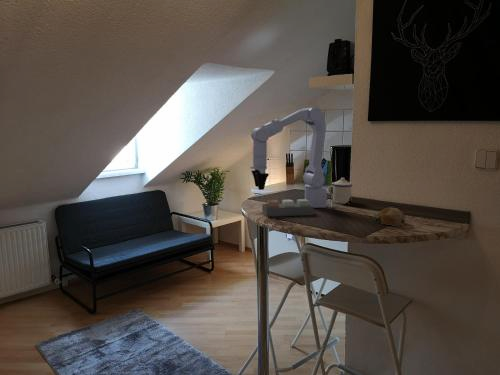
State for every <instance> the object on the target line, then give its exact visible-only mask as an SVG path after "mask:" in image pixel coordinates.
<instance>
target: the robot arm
mask: <svg viewBox="0 0 500 375" xmlns="http://www.w3.org/2000/svg"><path fill="white" fill-rule="evenodd" d="M324 117H325V112H324V111H323V109H321V108H320V107H317V106H314V107H303V108H301V109H298V110H296V111H295V112H293V113H291V114H289V115H287V116H285V117H284V118H281V119H277V118H275V119H271V120H270V121H269V122H268V123H265V124H264V123H263V124H261V125H260V126H261V127H256V128H254V129H253V130H252V132H251V134H250V137H251V140H252V141H253V142H252V144H253V145H252V166H250V168H249V169H250V171H251V173H252V176H253V180H254V186H255V187H256V188H258V190H259V191H261V190H265V186H266V181H267V179H268V177H269V175H270V174H269V173H268V172H266V171H267V169H268V167H267V166H268V165H267V161H268V160H267V158H268V157H267V155H268V154H267V150H268V148H267V147H268V146H267V142H268V140H269V139H270V138H271V137H274V136H275V135H277V134H279V133H281V132H283V130H284V128H285V127H287V126H290V125H291V124H294V123H296V122H298V121H303V122H304V123H305V124H307V125H309V127H310V128H311V129H312V138H311V145H310V153H309V159H308V160H309V161H308V165H307V166H306V167H305V172H304V173H303V176H302V182H303V183H304V199H307V200H308V201H309V204H311V205H312V206H314V209H315V208H316V209H317V208H327V207H328V206H327V199H328V196H327V194H328V191H327V188H326V187H325V186H323V185H324V183H325V176H324V172H325V171H324V169H323V168H322V160H323V154H324V147H325V146H324V145H325V138H326V132H327V123H326V120H325V118H324ZM251 169H252V170H251Z"/></svg>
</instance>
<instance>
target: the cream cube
mask: <svg viewBox="0 0 500 375" xmlns="http://www.w3.org/2000/svg"><path fill="white" fill-rule="evenodd" d="M281 203H282V206H284V207H288V206H294V203H295V201H294V200H292V199H282V200H281Z"/></svg>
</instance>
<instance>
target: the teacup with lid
mask: <svg viewBox="0 0 500 375" xmlns="http://www.w3.org/2000/svg"><path fill="white" fill-rule="evenodd" d="M351 183H352V182H349V181H348V180H346V179H345V177H341V178H340V179H339V180H337V181H334V182H333V183H332V185H330V186H328V188H327V190H328V191H327V192H328V194H329V195H330V196H331V197H332V203H335V204H339V205H340V204H341V205H346V203H347V202H348V201H349V199H350V197H351V198H352V192H351V188H352V189H353V187H352V186H353V184H351ZM331 189H332V191H331Z"/></svg>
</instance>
